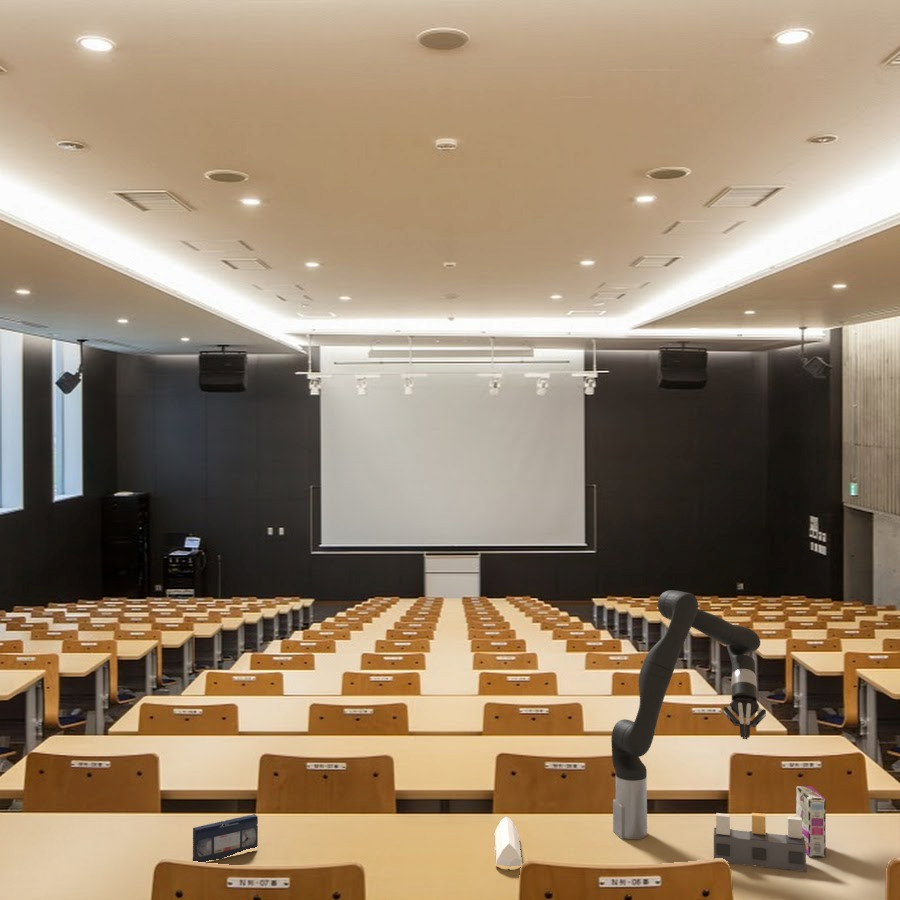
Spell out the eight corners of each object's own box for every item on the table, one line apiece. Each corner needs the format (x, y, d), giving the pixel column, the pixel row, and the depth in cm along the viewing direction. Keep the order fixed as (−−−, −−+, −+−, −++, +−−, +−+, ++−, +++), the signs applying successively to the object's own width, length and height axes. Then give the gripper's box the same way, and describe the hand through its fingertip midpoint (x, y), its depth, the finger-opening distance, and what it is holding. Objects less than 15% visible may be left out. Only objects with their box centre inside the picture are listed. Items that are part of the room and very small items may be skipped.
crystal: (487, 824, 279) (488, 858, 255) (508, 812, 279) (511, 844, 255) (500, 846, 279) (502, 882, 255) (520, 834, 279) (525, 868, 255)
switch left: (716, 833, 262) (716, 815, 262) (716, 831, 264) (716, 813, 264) (729, 835, 261) (729, 816, 261) (729, 832, 263) (729, 814, 263)
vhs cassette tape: (195, 866, 260) (195, 830, 260) (191, 862, 262) (191, 826, 262) (258, 851, 269) (258, 816, 270) (255, 848, 272) (255, 813, 272)
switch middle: (752, 833, 262) (751, 815, 262) (751, 830, 264) (751, 812, 264) (765, 834, 261) (765, 816, 261) (765, 832, 263) (765, 814, 263)
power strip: (713, 862, 261) (713, 835, 261) (714, 852, 267) (714, 827, 267) (806, 872, 254) (805, 845, 254) (804, 862, 260) (804, 836, 260)
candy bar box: (827, 857, 263) (826, 798, 264) (809, 857, 264) (808, 798, 264) (812, 842, 275) (812, 785, 275) (795, 841, 275) (795, 785, 275)
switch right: (788, 837, 259) (787, 818, 259) (787, 834, 261) (787, 816, 261) (802, 838, 258) (801, 820, 258) (801, 835, 260) (801, 817, 260)
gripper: (721, 679, 292) (721, 729, 280) (766, 682, 288) (768, 733, 276) (722, 692, 297) (722, 742, 285) (766, 695, 293) (768, 746, 281)
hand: (745, 737), depth 281 cm, fingers closed
